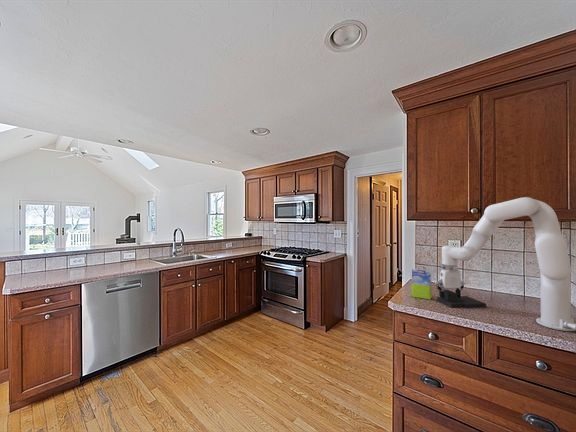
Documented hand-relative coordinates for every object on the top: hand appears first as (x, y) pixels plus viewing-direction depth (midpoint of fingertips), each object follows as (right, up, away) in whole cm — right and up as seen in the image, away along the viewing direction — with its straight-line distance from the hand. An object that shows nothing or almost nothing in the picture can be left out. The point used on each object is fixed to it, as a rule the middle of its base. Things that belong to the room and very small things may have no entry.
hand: (450, 297), depth 146 cm
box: (-10, -4, +12) cm, 16 cm away
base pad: (+10, -3, +1) cm, 10 cm away
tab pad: (+1, -4, 0) cm, 4 cm away
